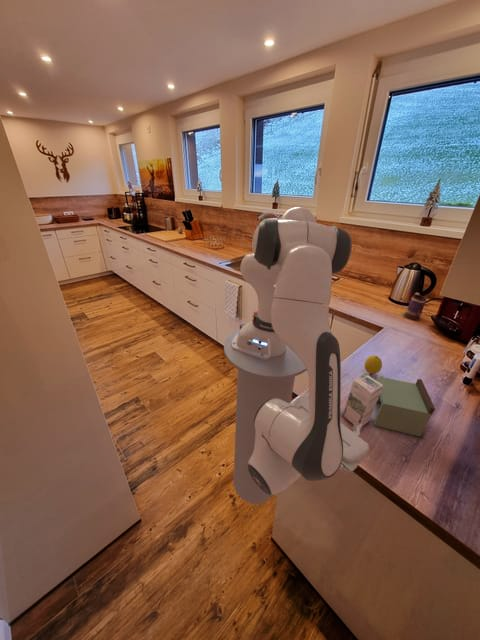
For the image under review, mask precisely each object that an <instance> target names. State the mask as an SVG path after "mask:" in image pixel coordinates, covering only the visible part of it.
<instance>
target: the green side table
mask: <svg viewBox="0 0 480 640" xmlns="http://www.w3.org/2000/svg"><path fill="white" fill-rule="evenodd" d="M375 376H376V377H375V378H374V380H376V381H377V382H379V383H381V384H382V385H383V388H382V390H381V393H380V395H379V398H378V400H377V402H378V403H381V404H380V406H379V409H378V411H377V414H376V415H375V418H374V421H373V426H376V427H379V428H382V429H386V430H391V431H395V432H400V433H403V434H407V435H412V436H416V437H421V436H422V434H423V432H424V430H425V428H426V426H427V425H428V423H429V421H430V419H431V417H432V416H433V414H434V412H435V411H436V407H435V406H434V403H433V401H432V399H431V396H430V395H429V392H428V390H427V388H426V386H425V384H424V382H423V379H422V378H417V380H416V382H415V383H413V382H409V381H403V380H398V379H393V378H388V377H383V376H379V375H375Z"/></svg>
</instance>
